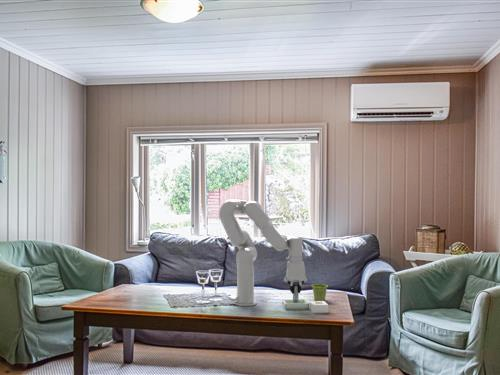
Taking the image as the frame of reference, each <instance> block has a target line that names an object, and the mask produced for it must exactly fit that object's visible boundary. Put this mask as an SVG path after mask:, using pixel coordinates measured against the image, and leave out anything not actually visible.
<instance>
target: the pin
mask: <svg viewBox="0 0 500 375" xmlns="http://www.w3.org/2000/svg"><path fill="white" fill-rule="evenodd" d="M298 284H299V282H298V281H293V286H294V293H293V294H292V299H293V302H294V303H298V299H299V293H298Z"/></svg>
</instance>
